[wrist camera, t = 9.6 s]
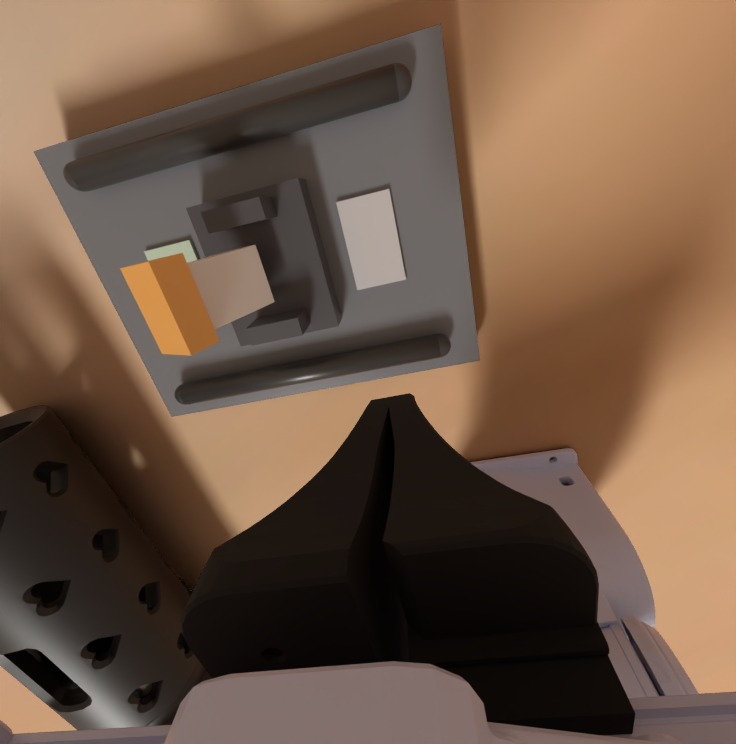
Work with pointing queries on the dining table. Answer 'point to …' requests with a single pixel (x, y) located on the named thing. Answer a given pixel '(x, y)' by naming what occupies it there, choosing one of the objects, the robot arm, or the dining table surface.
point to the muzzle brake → (84, 588)
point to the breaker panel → (331, 175)
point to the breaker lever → (197, 296)
